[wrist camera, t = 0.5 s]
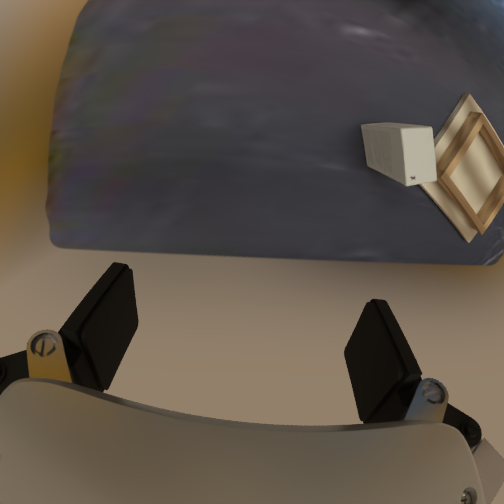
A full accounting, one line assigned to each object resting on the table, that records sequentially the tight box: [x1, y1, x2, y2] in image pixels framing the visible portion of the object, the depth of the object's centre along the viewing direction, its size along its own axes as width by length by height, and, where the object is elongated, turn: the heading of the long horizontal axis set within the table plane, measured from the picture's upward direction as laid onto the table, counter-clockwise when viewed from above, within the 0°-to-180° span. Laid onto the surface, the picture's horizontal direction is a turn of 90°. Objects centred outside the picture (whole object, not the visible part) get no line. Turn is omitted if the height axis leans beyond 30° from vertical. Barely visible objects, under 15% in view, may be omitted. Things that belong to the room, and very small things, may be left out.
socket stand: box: [419, 94, 504, 243], centre depth 31 cm, size 18×18×4 cm
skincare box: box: [361, 122, 437, 186], centre depth 28 cm, size 6×4×12 cm
